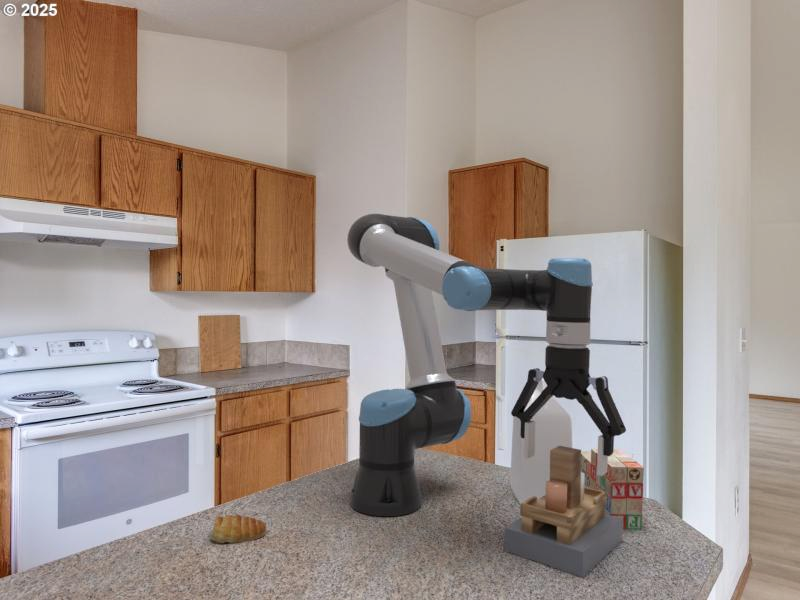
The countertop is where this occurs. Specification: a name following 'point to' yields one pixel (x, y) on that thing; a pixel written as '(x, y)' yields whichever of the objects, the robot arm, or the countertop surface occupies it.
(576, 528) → the carrier tray
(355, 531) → the countertop surface
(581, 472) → the white egg
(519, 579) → the countertop surface
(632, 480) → the stack of blocks
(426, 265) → the robot arm
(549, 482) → the brown egg
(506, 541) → the dock
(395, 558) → the countertop surface
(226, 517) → the pastry
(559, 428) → the milk
